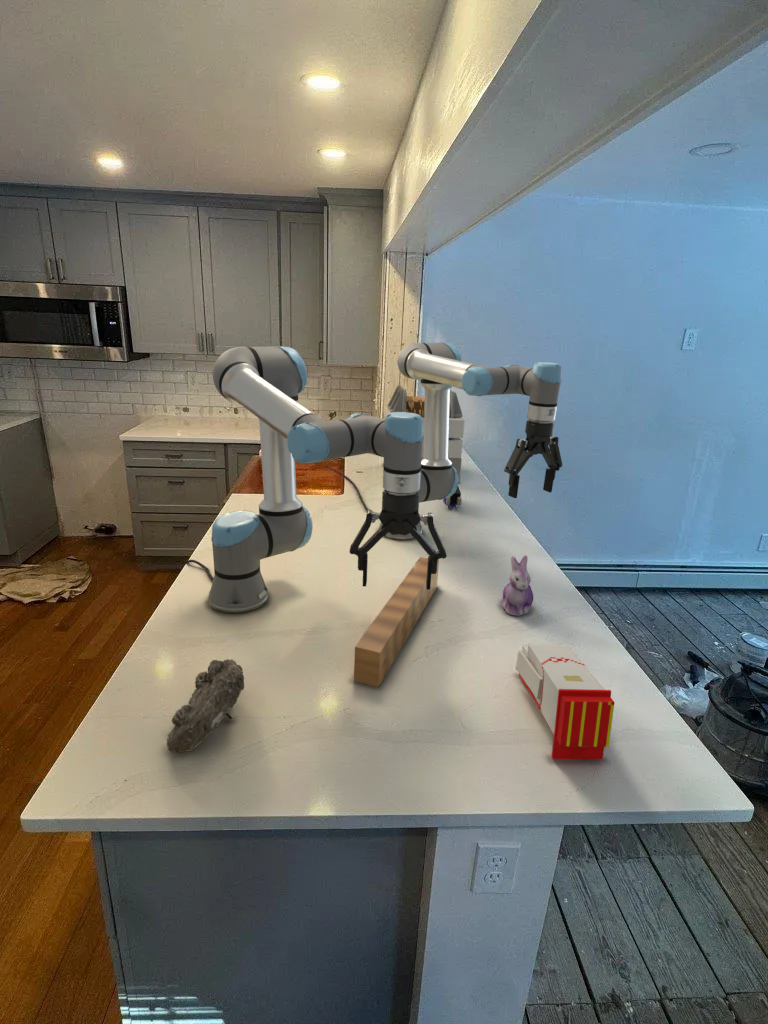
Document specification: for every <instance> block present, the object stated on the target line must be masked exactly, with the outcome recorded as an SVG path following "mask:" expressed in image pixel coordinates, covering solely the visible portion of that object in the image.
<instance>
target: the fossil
mask: <svg viewBox="0 0 768 1024" xmlns="http://www.w3.org/2000/svg"><path fill="white" fill-rule="evenodd" d="M243 670H244V669H243V667H242V665H240V664H237V662H236V661H235V660H234V659H232V658H231V659H227V658H226V659H224V660H223V661H222V660H217V659H212V660H211V661H210V663H209V665H208V666H207V671H201V672H199V673H198V674H197V675H196V676H195V680H194V684H195V685H194V687H195V689H194V690H193V693H192V694H191V697H190V698H189V700H188V704H184V705H182V706H181V707H180V709H177V710H176V711H175V713H174V715H173V716H172V718H171V723H172V724H173V727H172V730H171V731H170V732H168V734H167V738H166V741H167V742H166V745H167V749H168V750H169V751H173V752H174V753H176V754H178V753H182V752H188V751H189V752H192V751H193V750H195V748H196V747H197V746H199V744H200V743H201V742H203V741H204V740H205V739H206V738H207V737H208V736H209V735H210V734H211V733H212V732H214V730H215V729H217V727H218V726H219V724H220V722H221V721H222V720H223V719H224V718H225V716H226V717H227V719H229V720H233V717H232V715H230V714H229V710H230V709H231V708H234V706H235V704H236V703H237V702H238V699H239V697H240V695H241V693H242V691H243V690H245V689H244V688H245V675H244V671H243Z"/></svg>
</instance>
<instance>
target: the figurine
mask: <svg viewBox="0 0 768 1024" xmlns="http://www.w3.org/2000/svg"><path fill="white" fill-rule="evenodd" d="M528 559H529V558H528V555H523V556H522V558H521V560H520V562H519V561H518V560H517V558H516V557H515V556H514V555H512V556H511V558H510V561H511V573H510V575H509V579H508V580H509V582H508V583H507V584H505V586H504V587H503V590H502V598H501V607H502V608H503V610H505V612H506V613H507V614H508V615H512V616H515V617H516V616H518V617H519V616H522V615H526V614H528V613H529V612H530V611H531V608H532V605H533V603H534V592H533V589H532V587H531V585H530V584H531V575H530V573H529V571H528V568H527V566H528Z"/></svg>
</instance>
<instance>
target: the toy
mask: <svg viewBox="0 0 768 1024" xmlns="http://www.w3.org/2000/svg"><path fill="white" fill-rule="evenodd" d="M521 649H522V650H520V649H518V651H517V658H516V664H515V670H516V671H517V672H518V677H519V678H520V680H521V681H522V683H523V685H524V686H525V688H526V689H527V691H528V692H529V694H530V695H531V698H533V700H534V702H535V703H536V705H537V707H538V708H539V709H540V712H541V714H542V716H543V718H544V719H545V721H546V723H547V725H548V727H549V728H550V730H551V732H552V735H553V738H552V739H553V741H552V750H551V759H552V760H597V761H598V760H604V754H605V753H604V752H605V748H609V747H610V742H611V734H612V726H613V725H612V724H613V718H614V710H615V701H614V700H613V698H612V690H611V689H605V688H604V687H603V686H602V684H601V683H600V682H599V681H598V679H597V678H596V677H595V676H594V674H593V673H592V672H591V670H590V669H589V668H588V667H587V665H586V664H585V663H584V662H583V660H582V659H581V658H580V657H579V656H578V654H577V653H576V652H575V650H574V649H573V648H572V647H571V646H570V644H548V643H547V644H545V643H544V644H543V643H541V644H540V643H528V644H522V648H521Z"/></svg>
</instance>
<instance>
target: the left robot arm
mask: <svg viewBox="0 0 768 1024" xmlns="http://www.w3.org/2000/svg"><path fill="white" fill-rule="evenodd" d="M212 381H213V385H214V387H215V389H216V390H217V392H218V393H219V395H221V396H222V398H224V399H225V400H227V401H228V402H229V403H231V404H233V405H241V406H242V407H244V408H245V409H246V410H247V411H248V412H250V413H251V414H252V415H254V416H255V417H257V418H258V422H259V440H260V453H261V455H260V457H261V471H262V472H261V473H262V489H263V499H262V500H261V502H260V503H259V504H258V514H257V513H256V512H254V511H252V510H242V511H240V510H236V511H230V512H228V513H225V514H223V515H220V516H219V517H218V518H216V520H214V522H213V523H212V526H211V540H210V541H211V545H212V557H213V572H214V575H212V574H211V571H210V569H209V568H208V567H207V566H206V565H204V564H203V563H201V562H200V561H197V560H196V559H187V560H186V561H185V564H190V563H194V564H196V565H198V566H199V567H201V568H202V569H204V570H205V571H206V573H207V576H208V578H210V580H211V581H212V583H211V587H210V590H209V592H208V603H209V606H210V607H211V608H212V609H213V610H215V611H217V612H221V613H226V614H244V613H249V612H252V611H256V610H257V609H260V608H261V607H263V606H264V605H266V603H267V602H268V600H269V591H268V587H267V585H266V581H265V579H264V577H263V575H262V572H261V560H264V559H267V558H271V557H274V556H278V555H281V554H285V553H289V552H290V553H291V552H294V551H296V550H297V549H298V550H299V549H301V548H303V547H305V546H306V545H307V544H308V543H309V542H310V539H311V538H312V535H313V519H312V517H311V513H310V512H309V510H308V509H307V508H306V507H305V506H303V501H302V500H300V499H299V498H298V496H297V479H296V478H297V475H296V462H297V463H300V464H318V463H321V462H325V461H331V460H337V459H342V458H349V457H355V456H359V455H360V456H361V455H367V454H369V455H370V454H371V455H374V456H377V457H381V458H383V463H384V464H383V466H382V469H383V470H382V473H383V474H382V489H383V491H382V496H381V511H380V512H375V511H373V510H372V509H369V510H368V511H367V510H366V515H365V516H366V517H365V520H364V522H363V524H362V526H361V527H360V528H359V531H358V532H357V534H356V536H355V537H354V539H353V541H352V543H351V545H350V548H349V554H350V555H355V556H356V557H357V570H358V571H361V572H362V587H367V583H368V557H369V555H368V554H369V553H368V552H370V551H371V549H372V548H373V547H375V545H376V544H377V543H378V542H379V541H381V539H382V538H384V536H385V535H386V534H387V533H388V532H389V533H391V535H397V534H400V535H407V534H409V533H410V534H411V535H412V536H413V537H414V538H415V539H414V540H415V541H416V542H417V543H418V544H419V546H420V547H421V548H422V549H423V550H424V551H425V553H426V554H427V555H428V556H427V558H428V565H427V579H426V587H427V589H429V590H430V585H431V574H436V572H437V562H438V560H439V561H440V559H443V560H444V559H446V558H447V557H448V555H447V550H446V547H445V545H444V543H443V541H442V539H441V537H440V534H439V532H438V530H437V528H436V525H435V521H434V514H433V513H432V512H428V513H427V514H420V511H419V510H420V503H419V495H420V494H419V492H418V491H419V490H420V478H421V459H422V446H423V439H424V435H423V419H422V417H421V416H420V415H418V414H415V413H407V412H392V413H389V414H387V415H385V418H382V417H377V416H373V415H370V414H367V413H353V414H350V415H349V416H348V417H346V418H342V419H335V420H334V419H333V420H324V419H323V418H321V417H320V416H318V415H316V414H315V413H314V412H312V411H311V410H309V409H308V408H307V407H305V406H303V405H302V404H300V403H299V394H300V393H303V391H304V390H305V388H306V385H307V383H308V371H307V368H306V364H305V362H304V360H303V357H301V355H300V353H299V352H298V351H297V350H296V349H294V348H292V347H290V346H280V345H268V346H236V347H232V348H229V349H228V350H225V351H224V352H223V353H221V355H219V356H218V358H217V359H216V361H215V363H214V365H213V368H212ZM377 520H379V522H380V523H382V524H383V525H382V526H381V527H380V528H379V527H378V529H377V530H376V531H375V532H374V533H373V534H372V535H371V536H370V537H369V538H368V539H367V541H365V543H363V545H361V543H362V541H363V540H364V538H365V536H366V535H367V533H368V532H369V530H370V527H371V526H372V524H373V523H375V522H376V521H377ZM419 522H422V523H423V525H424V526H427V528H428V531H429V533H430V536H431V538H432V540H433V542H434V544H435V547H436V549H437V551H436V550H435V548H434V547H433V546H432V544H431V542H429V541H428V539H427V538H426V536H424V534H423V532H422V533H421V532H420V531H419V529H418V528H417V527H416V526H417V525H418V523H419ZM360 545H361V546H360Z"/></svg>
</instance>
